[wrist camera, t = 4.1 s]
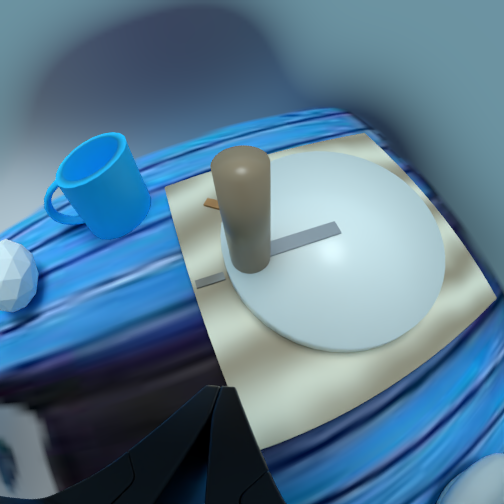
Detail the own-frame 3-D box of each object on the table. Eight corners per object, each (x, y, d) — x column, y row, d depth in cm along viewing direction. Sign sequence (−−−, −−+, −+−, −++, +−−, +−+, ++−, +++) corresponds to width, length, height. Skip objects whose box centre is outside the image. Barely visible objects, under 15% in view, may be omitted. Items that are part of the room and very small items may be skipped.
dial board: (488, 303, 20) (497, 297, 19) (256, 448, 16) (255, 452, 15) (362, 141, 34) (364, 131, 32) (168, 196, 30) (164, 185, 28)
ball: (47, 285, 27) (43, 229, 24) (33, 333, 21) (20, 272, 18) (-1, 278, 24) (-9, 222, 20) (-20, 322, 18) (-39, 262, 14)
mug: (147, 176, 32) (126, 123, 25) (155, 224, 28) (126, 166, 21) (67, 210, 30) (36, 166, 23) (63, 260, 26) (21, 216, 19)
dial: (366, 149, 30) (384, 73, 21) (470, 291, 20) (538, 224, 11) (200, 189, 27) (177, 97, 18) (271, 395, 17) (276, 382, 8)
